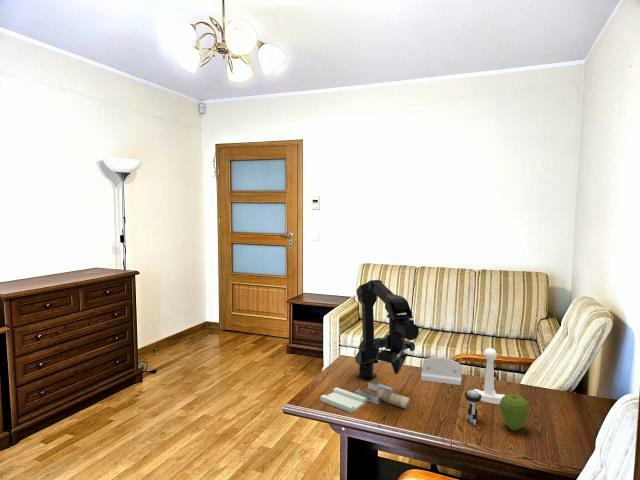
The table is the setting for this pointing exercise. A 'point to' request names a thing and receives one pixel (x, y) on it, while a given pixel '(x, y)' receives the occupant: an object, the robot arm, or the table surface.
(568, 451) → the table surface
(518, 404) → the apple
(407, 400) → the maple axle
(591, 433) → the table surface
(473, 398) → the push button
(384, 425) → the table surface
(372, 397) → the steel guide
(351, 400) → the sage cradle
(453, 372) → the gray wall bracket
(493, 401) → the joystick
